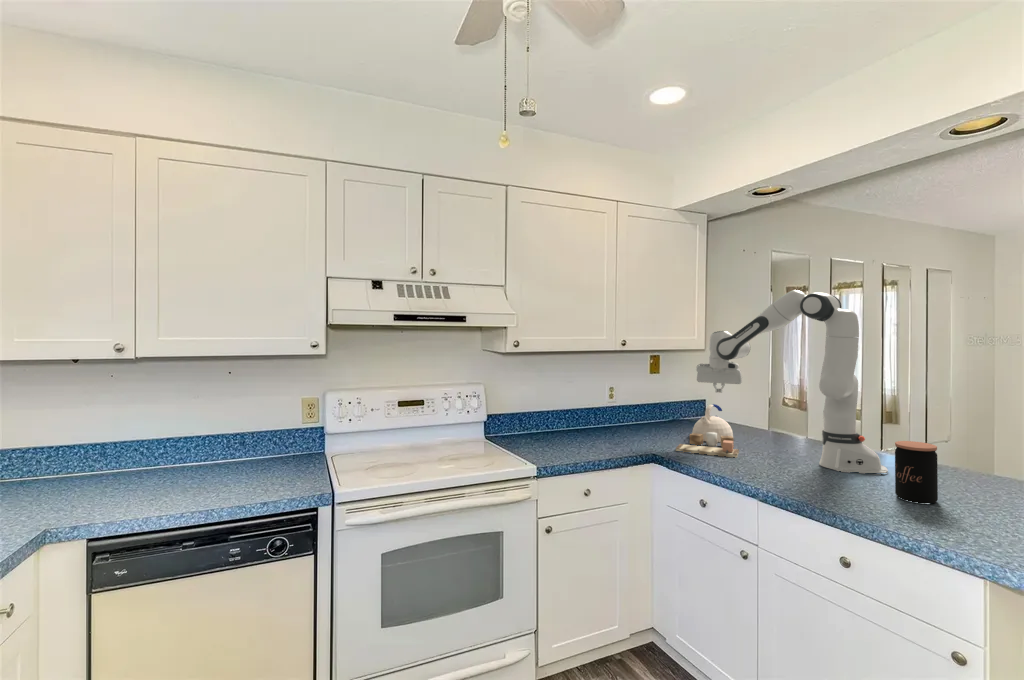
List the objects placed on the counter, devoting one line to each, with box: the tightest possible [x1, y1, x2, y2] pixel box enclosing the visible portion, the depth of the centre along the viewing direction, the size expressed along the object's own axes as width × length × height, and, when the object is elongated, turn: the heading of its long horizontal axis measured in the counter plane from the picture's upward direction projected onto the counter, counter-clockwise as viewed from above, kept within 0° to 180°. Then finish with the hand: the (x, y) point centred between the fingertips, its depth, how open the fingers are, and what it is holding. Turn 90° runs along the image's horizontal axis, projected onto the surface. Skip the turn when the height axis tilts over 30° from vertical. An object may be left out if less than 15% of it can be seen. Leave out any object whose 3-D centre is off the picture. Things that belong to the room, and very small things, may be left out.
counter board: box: [675, 443, 740, 459], centre depth 224 cm, size 26×10×2 cm, turn 60°
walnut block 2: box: [720, 436, 735, 449], centre depth 233 cm, size 5×5×5 cm
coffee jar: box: [894, 440, 939, 504], centre depth 157 cm, size 11×11×18 cm
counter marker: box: [723, 440, 733, 452], centre depth 218 cm, size 4×7×4 cm, turn 150°
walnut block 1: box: [689, 432, 704, 446], centre depth 240 cm, size 5×5×5 cm
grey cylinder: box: [705, 432, 718, 447], centre depth 237 cm, size 5×5×6 cm
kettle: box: [691, 403, 734, 443], centre depth 253 cm, size 20×21×18 cm
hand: (718, 392), depth 235 cm, fingers closed
